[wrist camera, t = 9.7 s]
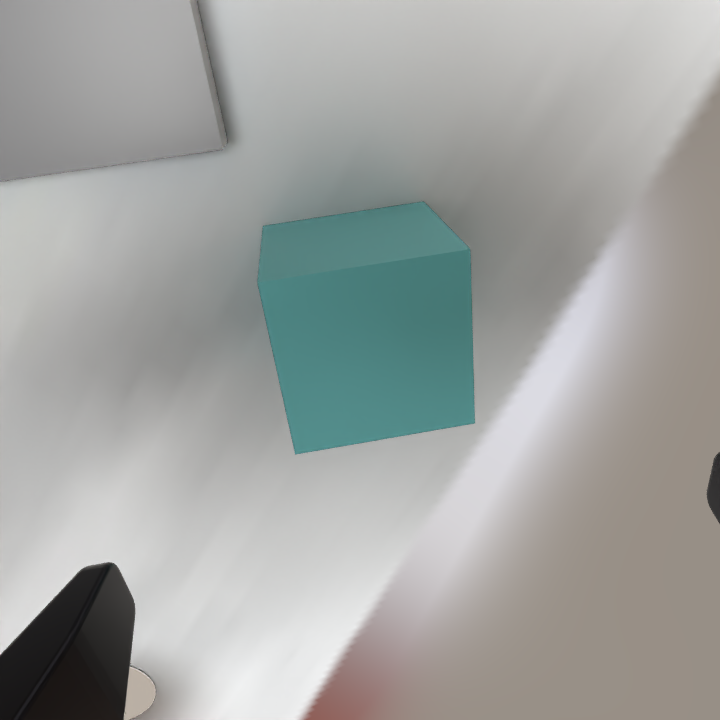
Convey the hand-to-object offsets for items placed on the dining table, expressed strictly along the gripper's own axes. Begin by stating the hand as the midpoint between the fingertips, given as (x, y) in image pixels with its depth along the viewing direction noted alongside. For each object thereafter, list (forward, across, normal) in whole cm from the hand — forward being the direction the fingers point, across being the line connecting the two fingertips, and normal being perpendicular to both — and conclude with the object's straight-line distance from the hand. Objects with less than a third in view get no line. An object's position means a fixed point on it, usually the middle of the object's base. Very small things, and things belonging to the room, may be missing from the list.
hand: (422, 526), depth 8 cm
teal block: (+11, 0, +1) cm, 11 cm away
